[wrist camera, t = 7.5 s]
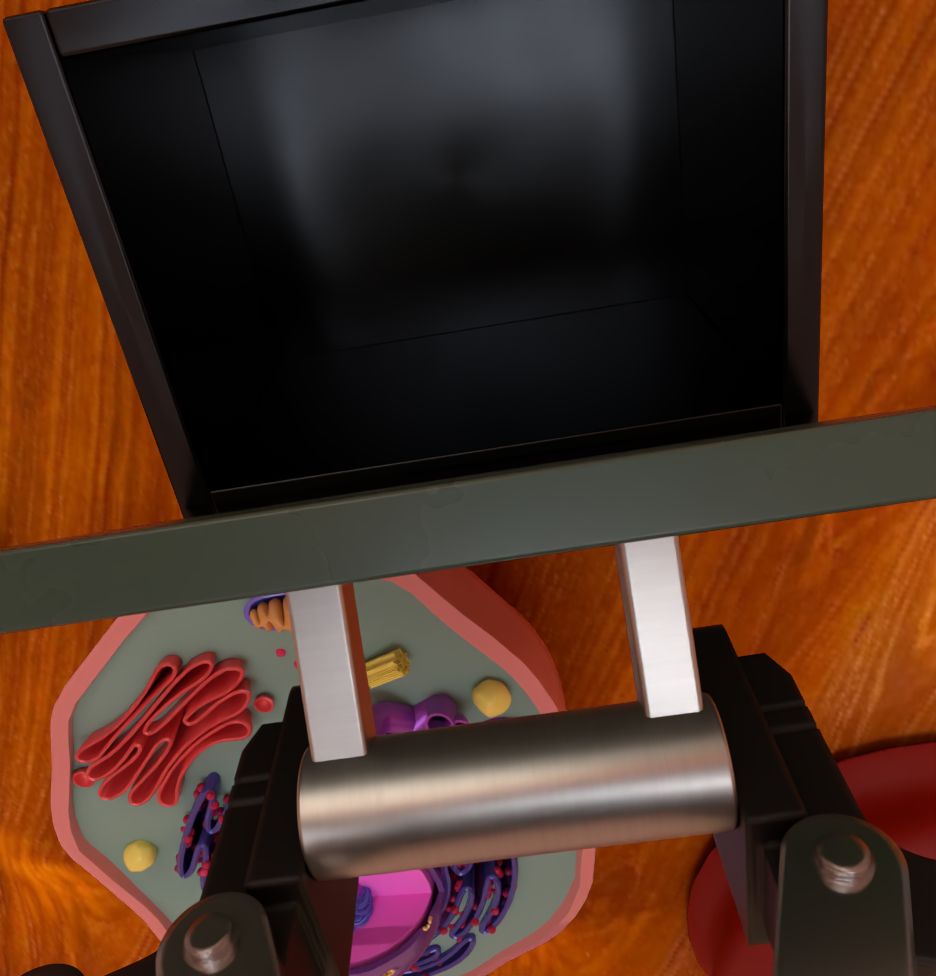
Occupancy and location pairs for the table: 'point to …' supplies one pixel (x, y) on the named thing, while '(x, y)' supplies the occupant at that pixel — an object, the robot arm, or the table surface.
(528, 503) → the bin lid
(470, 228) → the black bin
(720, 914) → the table lamp
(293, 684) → the cell model
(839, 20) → the table surface
